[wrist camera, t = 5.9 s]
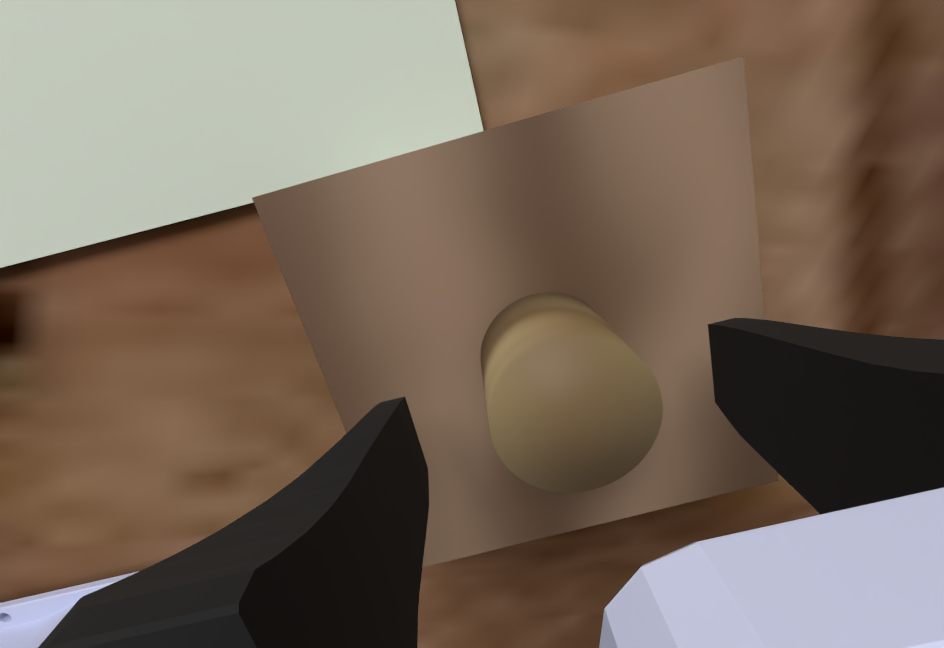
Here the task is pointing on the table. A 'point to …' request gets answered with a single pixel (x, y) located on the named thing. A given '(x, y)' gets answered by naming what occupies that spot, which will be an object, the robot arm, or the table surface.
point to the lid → (542, 306)
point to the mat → (208, 105)
